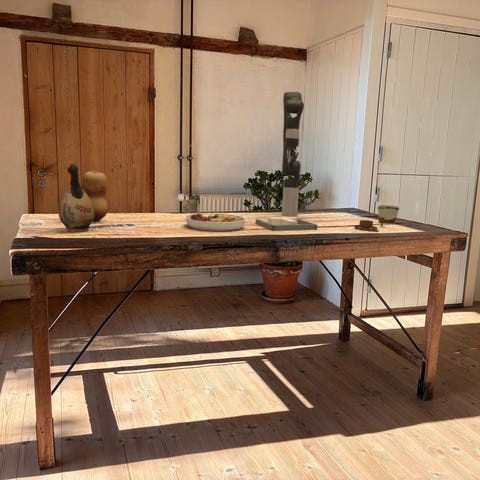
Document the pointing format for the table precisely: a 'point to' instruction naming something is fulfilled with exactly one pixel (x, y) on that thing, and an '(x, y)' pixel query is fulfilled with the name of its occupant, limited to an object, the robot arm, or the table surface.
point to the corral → (302, 225)
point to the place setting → (368, 225)
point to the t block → (282, 220)
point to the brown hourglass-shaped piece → (96, 192)
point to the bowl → (215, 222)
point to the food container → (388, 213)
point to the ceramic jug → (76, 205)
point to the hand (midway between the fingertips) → (290, 169)
